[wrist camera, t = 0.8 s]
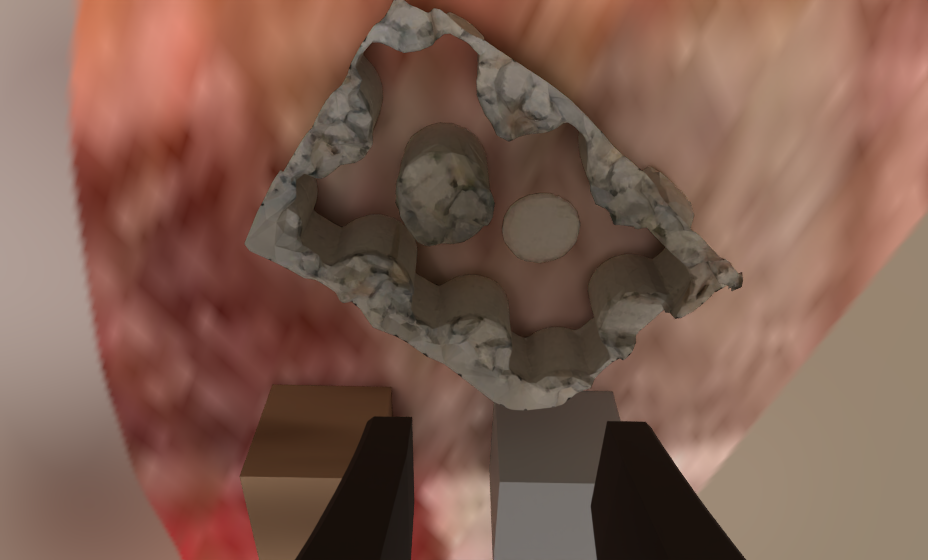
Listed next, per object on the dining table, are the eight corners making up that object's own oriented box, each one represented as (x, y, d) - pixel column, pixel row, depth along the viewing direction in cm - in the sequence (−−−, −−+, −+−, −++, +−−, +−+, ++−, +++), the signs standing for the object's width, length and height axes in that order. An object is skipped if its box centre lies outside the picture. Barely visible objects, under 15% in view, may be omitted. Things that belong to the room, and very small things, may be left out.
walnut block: (395, 466, 25) (384, 563, 21) (287, 464, 25) (259, 561, 21) (391, 385, 23) (378, 479, 19) (273, 382, 23) (239, 476, 19)
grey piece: (716, 210, 19) (771, 289, 16) (537, 364, 22) (551, 458, 19) (423, -52, 16) (413, -22, 12) (258, 177, 19) (213, 253, 15)
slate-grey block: (596, 469, 25) (617, 567, 22) (489, 468, 25) (493, 565, 22) (612, 389, 23) (637, 484, 19) (494, 387, 23) (499, 481, 19)
